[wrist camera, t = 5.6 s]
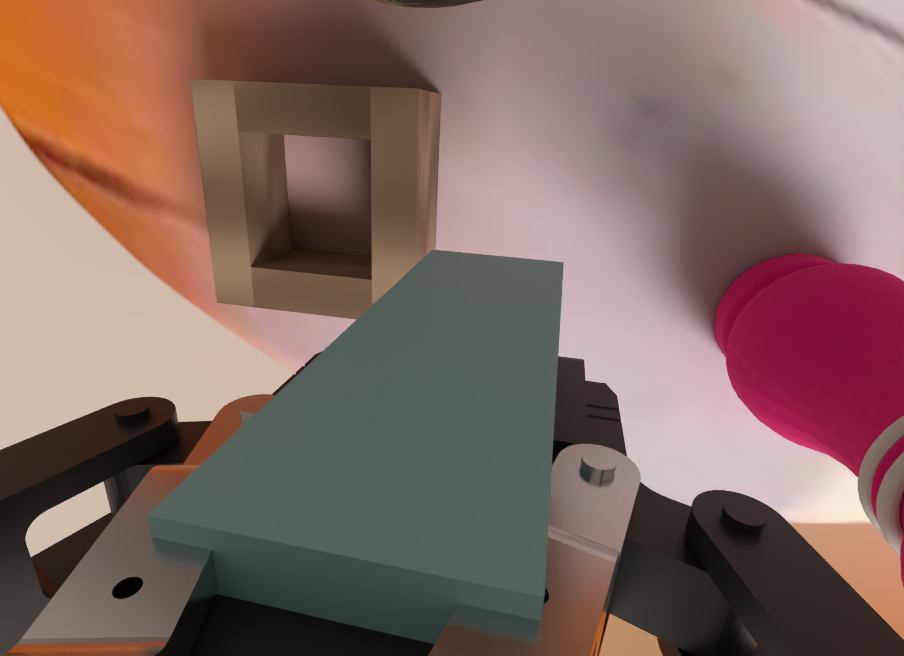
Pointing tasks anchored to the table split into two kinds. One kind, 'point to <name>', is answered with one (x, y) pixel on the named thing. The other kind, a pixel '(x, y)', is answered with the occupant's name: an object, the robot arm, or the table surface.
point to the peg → (397, 460)
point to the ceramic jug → (427, 3)
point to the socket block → (266, 202)
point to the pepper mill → (825, 368)
